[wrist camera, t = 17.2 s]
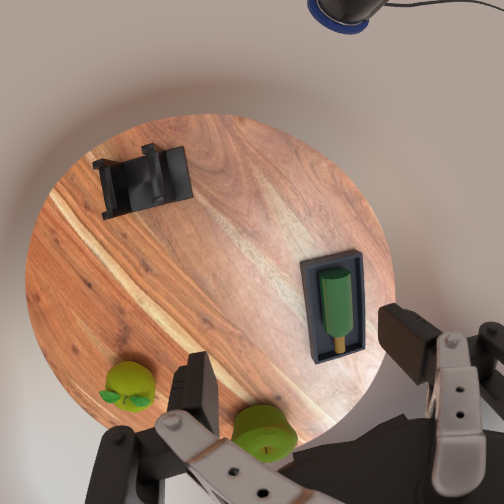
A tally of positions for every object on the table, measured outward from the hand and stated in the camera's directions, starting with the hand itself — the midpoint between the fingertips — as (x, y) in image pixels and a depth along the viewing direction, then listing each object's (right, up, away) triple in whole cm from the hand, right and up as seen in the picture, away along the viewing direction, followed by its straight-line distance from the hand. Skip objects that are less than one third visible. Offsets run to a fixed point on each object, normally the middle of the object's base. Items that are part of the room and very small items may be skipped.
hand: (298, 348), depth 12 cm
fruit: (-24, -19, +36) cm, 47 cm away
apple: (-1, -31, +41) cm, 51 cm away
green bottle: (+13, -6, +36) cm, 39 cm away
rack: (-18, +15, +29) cm, 37 cm away
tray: (+12, -6, +37) cm, 39 cm away
